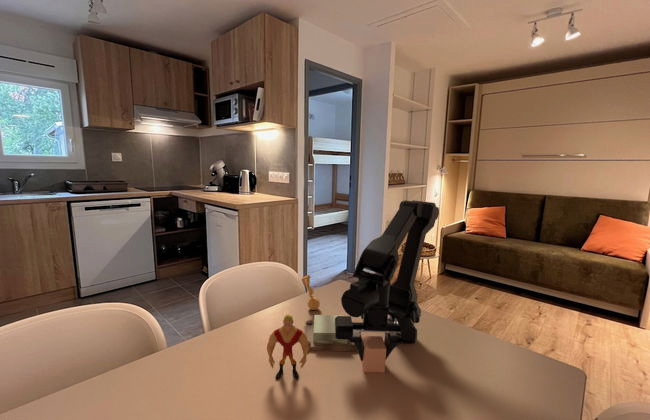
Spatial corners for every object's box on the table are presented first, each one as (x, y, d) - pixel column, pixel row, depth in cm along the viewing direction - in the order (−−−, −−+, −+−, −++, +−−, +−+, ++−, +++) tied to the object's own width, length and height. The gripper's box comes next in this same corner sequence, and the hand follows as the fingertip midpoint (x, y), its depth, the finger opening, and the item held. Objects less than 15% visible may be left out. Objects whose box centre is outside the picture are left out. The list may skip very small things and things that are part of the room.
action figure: (265, 381, 65) (265, 318, 63) (267, 369, 69) (267, 310, 66) (308, 381, 66) (309, 318, 63) (308, 370, 69) (309, 310, 67)
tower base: (352, 325, 88) (353, 313, 88) (357, 351, 77) (358, 337, 76) (305, 324, 88) (306, 311, 88) (303, 350, 76) (303, 335, 76)
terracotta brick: (380, 358, 74) (382, 336, 73) (384, 372, 69) (386, 349, 68) (360, 357, 74) (361, 335, 73) (363, 371, 69) (364, 348, 68)
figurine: (321, 315, 94) (322, 279, 92) (302, 316, 93) (303, 280, 91) (317, 302, 102) (318, 269, 100) (300, 303, 101) (300, 270, 99)
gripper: (406, 286, 77) (402, 340, 80) (334, 284, 77) (332, 339, 79) (420, 307, 66) (414, 370, 69) (336, 305, 66) (334, 368, 68)
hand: (372, 360), depth 72 cm, fingers closed on terracotta brick, 5 cm apart
